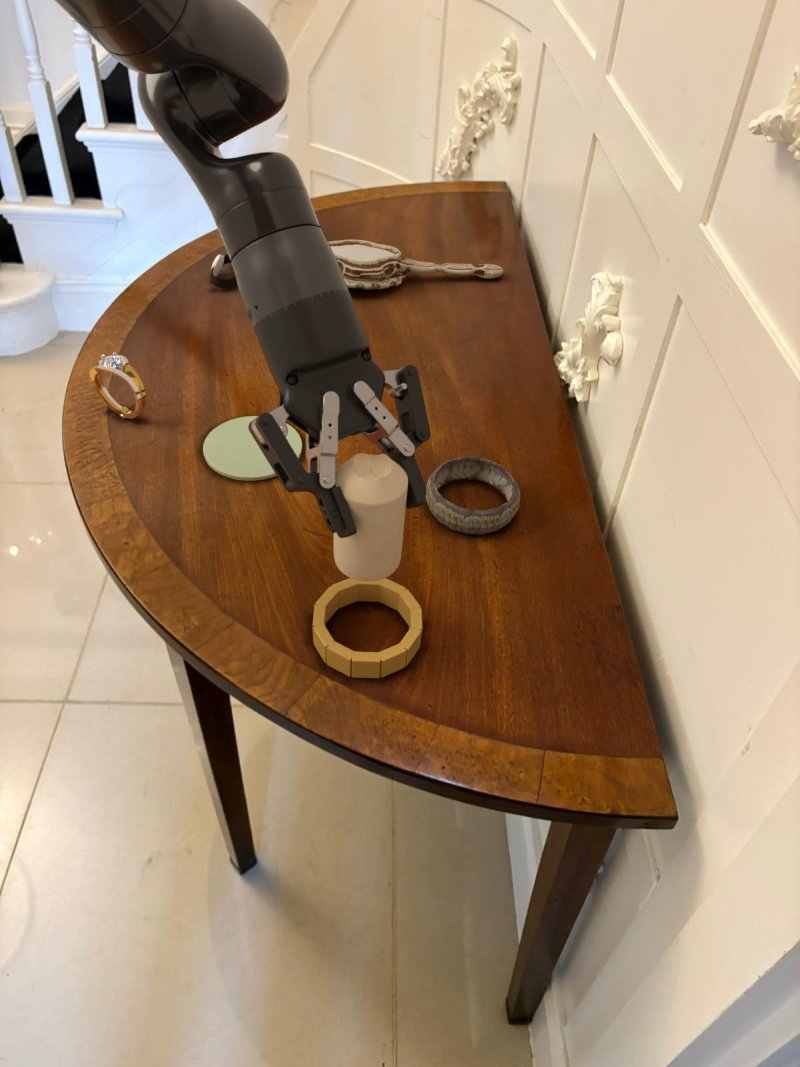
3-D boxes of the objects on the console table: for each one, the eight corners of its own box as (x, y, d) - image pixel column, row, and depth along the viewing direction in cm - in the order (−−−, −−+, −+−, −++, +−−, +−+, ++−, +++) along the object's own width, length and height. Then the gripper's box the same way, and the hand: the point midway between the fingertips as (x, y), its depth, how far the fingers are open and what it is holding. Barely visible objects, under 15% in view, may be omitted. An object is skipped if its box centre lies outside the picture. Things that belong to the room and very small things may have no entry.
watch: (225, 265, 119) (223, 242, 116) (254, 270, 118) (252, 247, 116) (203, 288, 114) (199, 264, 111) (233, 294, 113) (230, 270, 110)
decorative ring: (534, 527, 82) (493, 467, 89) (539, 504, 80) (498, 445, 86) (445, 548, 79) (410, 485, 86) (448, 525, 77) (412, 462, 84)
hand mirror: (516, 280, 115) (313, 269, 108) (504, 311, 120) (309, 303, 113) (500, 233, 121) (306, 221, 114) (489, 265, 126) (302, 255, 119)
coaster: (224, 492, 83) (224, 489, 83) (189, 434, 90) (188, 431, 90) (318, 463, 88) (318, 459, 87) (278, 409, 94) (278, 406, 94)
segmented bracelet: (344, 694, 67) (344, 677, 65) (296, 616, 72) (295, 598, 70) (439, 652, 70) (442, 635, 68) (387, 580, 76) (388, 562, 74)
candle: (319, 556, 64) (318, 462, 57) (367, 524, 67) (371, 430, 60) (367, 593, 62) (372, 500, 55) (414, 558, 65) (425, 465, 58)
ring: (156, 420, 91) (144, 361, 86) (135, 434, 89) (122, 374, 84) (114, 398, 94) (100, 340, 88) (93, 411, 92) (77, 352, 86)
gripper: (222, 314, 51) (319, 554, 53) (403, 266, 57) (483, 482, 59) (197, 347, 58) (283, 559, 60) (361, 300, 64) (434, 493, 66)
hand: (383, 519), depth 59 cm, fingers closed on candle, 5 cm apart
